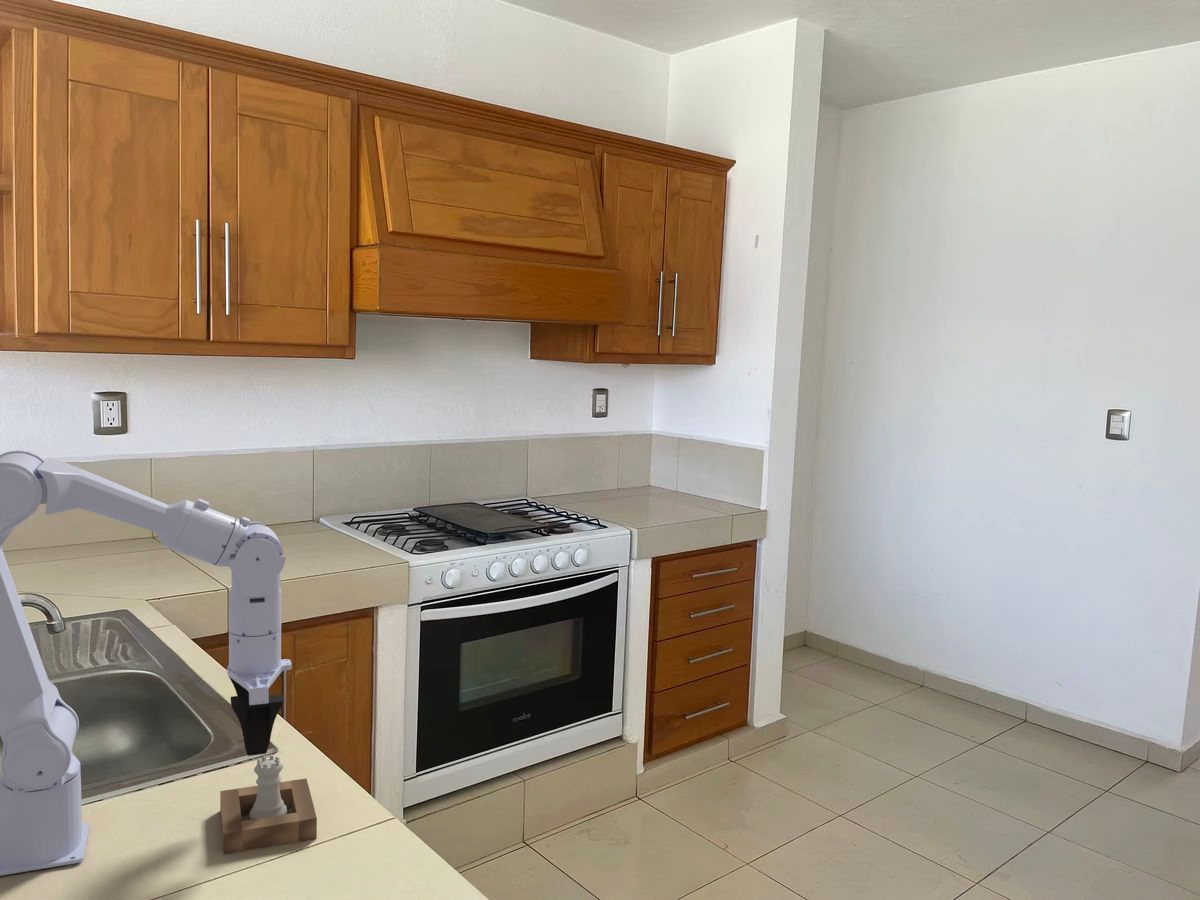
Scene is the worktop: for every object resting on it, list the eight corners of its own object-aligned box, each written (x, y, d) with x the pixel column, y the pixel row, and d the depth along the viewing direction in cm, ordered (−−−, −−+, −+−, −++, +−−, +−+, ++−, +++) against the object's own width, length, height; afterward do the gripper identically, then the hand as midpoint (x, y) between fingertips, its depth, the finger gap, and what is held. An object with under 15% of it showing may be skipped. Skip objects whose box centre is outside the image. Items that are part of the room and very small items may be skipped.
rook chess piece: (276, 836, 107) (276, 771, 106) (240, 831, 108) (240, 766, 107) (295, 817, 111) (295, 754, 110) (260, 812, 112) (261, 749, 111)
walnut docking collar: (223, 854, 103) (223, 833, 103) (220, 810, 112) (220, 791, 112) (316, 838, 107) (316, 818, 107) (306, 797, 116) (306, 778, 116)
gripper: (297, 646, 103) (296, 761, 105) (285, 608, 116) (284, 711, 118) (229, 652, 100) (229, 770, 102) (225, 612, 113) (225, 718, 115)
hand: (254, 739), depth 110 cm, fingers open, 7 cm apart
